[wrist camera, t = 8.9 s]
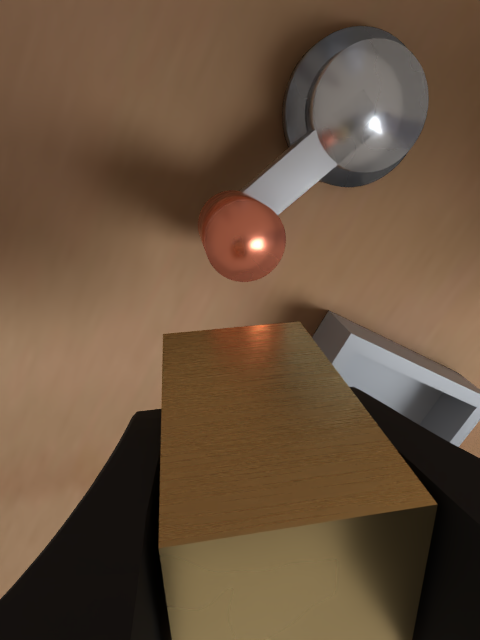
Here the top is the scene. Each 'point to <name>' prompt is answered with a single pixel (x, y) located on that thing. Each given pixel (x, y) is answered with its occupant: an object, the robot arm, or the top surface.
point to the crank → (321, 151)
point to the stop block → (281, 496)
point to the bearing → (300, 87)
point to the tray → (401, 378)
